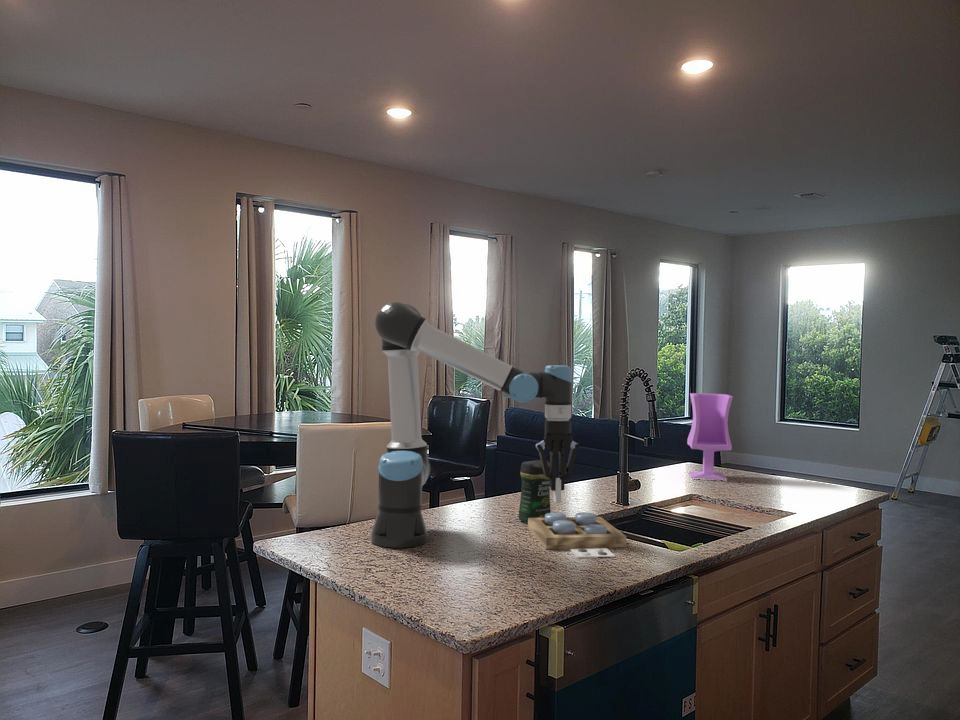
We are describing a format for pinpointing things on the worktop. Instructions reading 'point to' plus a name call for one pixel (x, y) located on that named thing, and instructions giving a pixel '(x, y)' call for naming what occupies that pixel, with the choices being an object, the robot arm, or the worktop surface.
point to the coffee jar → (534, 491)
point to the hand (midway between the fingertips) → (557, 501)
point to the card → (592, 553)
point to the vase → (709, 430)
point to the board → (576, 536)
